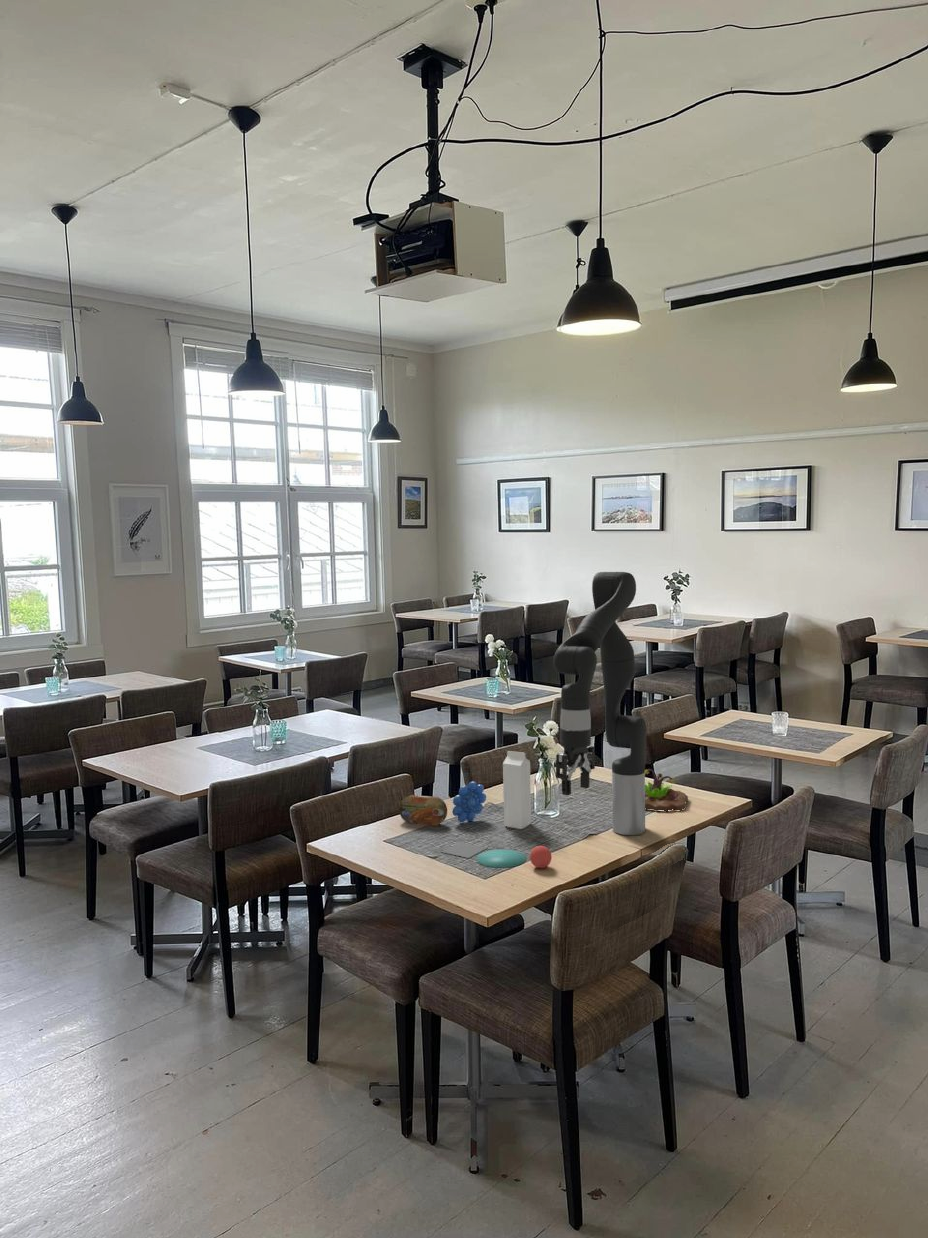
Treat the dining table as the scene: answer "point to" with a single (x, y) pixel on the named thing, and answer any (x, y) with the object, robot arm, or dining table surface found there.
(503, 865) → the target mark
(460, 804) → the grapes
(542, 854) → the ball
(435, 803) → the tin
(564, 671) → the robot arm
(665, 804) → the plant
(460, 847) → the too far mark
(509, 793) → the milk
